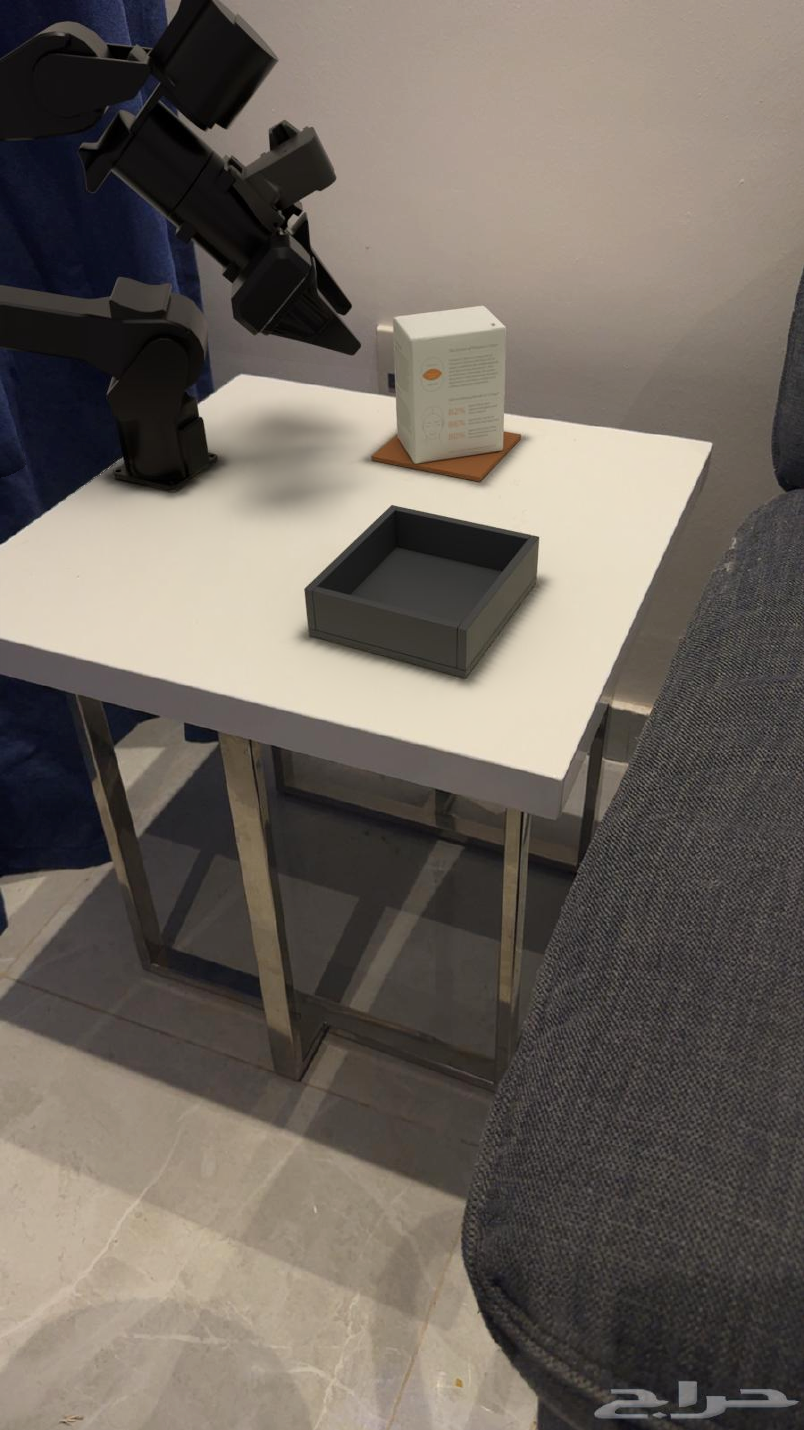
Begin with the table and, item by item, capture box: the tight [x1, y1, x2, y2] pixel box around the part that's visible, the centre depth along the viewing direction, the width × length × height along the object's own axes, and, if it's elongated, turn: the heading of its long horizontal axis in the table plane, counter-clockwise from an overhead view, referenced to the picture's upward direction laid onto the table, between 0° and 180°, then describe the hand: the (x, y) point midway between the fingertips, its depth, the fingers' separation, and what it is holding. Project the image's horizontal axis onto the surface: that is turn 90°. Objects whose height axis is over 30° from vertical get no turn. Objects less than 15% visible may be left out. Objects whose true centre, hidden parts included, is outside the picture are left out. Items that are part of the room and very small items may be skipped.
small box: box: [392, 305, 508, 464], centre depth 85 cm, size 8×6×10 cm
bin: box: [303, 504, 540, 679], centre depth 68 cm, size 11×12×4 cm
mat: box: [370, 431, 522, 483], centre depth 88 cm, size 10×9×1 cm
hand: (352, 329), depth 81 cm, fingers open, 9 cm apart
